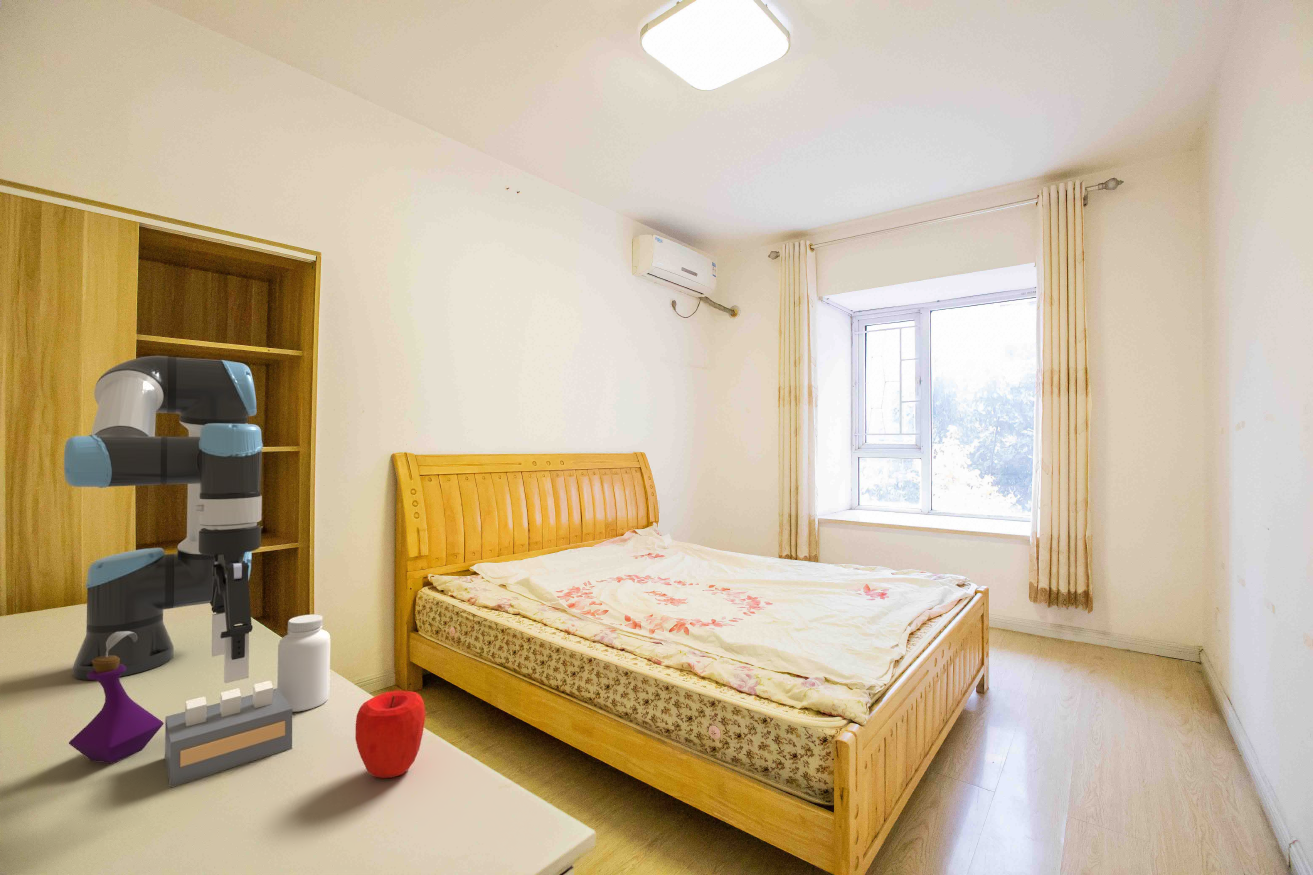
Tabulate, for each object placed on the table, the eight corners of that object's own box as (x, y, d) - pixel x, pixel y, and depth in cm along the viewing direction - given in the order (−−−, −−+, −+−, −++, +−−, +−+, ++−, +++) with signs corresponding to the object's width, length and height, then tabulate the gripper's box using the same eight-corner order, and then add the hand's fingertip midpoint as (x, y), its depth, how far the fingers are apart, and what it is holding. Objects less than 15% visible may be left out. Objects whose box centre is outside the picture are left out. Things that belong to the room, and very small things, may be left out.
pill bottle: (340, 696, 103) (340, 614, 103) (299, 716, 95) (300, 627, 95) (308, 690, 105) (308, 609, 106) (265, 709, 98) (266, 622, 98)
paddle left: (185, 718, 81) (185, 700, 81) (204, 713, 83) (205, 696, 82) (186, 726, 80) (187, 709, 79) (206, 721, 81) (206, 704, 81)
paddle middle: (219, 708, 84) (220, 692, 84) (238, 704, 86) (239, 687, 85) (221, 717, 83) (222, 700, 82) (240, 712, 84) (241, 695, 84)
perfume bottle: (108, 771, 79) (109, 643, 79) (67, 765, 81) (69, 639, 81) (164, 743, 87) (165, 626, 87) (126, 738, 88) (127, 623, 88)
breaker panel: (165, 757, 83) (165, 716, 83) (277, 724, 93) (278, 687, 93) (170, 788, 75) (171, 743, 75) (292, 749, 85) (293, 709, 85)
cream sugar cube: (252, 700, 87) (253, 684, 86) (269, 696, 88) (270, 680, 88) (254, 708, 85) (255, 691, 85) (272, 703, 87) (273, 687, 86)
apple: (355, 799, 73) (356, 715, 73) (354, 765, 81) (355, 690, 81) (428, 780, 77) (429, 700, 77) (421, 749, 85) (421, 677, 85)
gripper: (190, 519, 92) (188, 650, 91) (209, 538, 74) (207, 701, 73) (246, 515, 97) (245, 639, 97) (277, 532, 79) (276, 684, 79)
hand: (229, 666), depth 85 cm, fingers open, 13 cm apart
